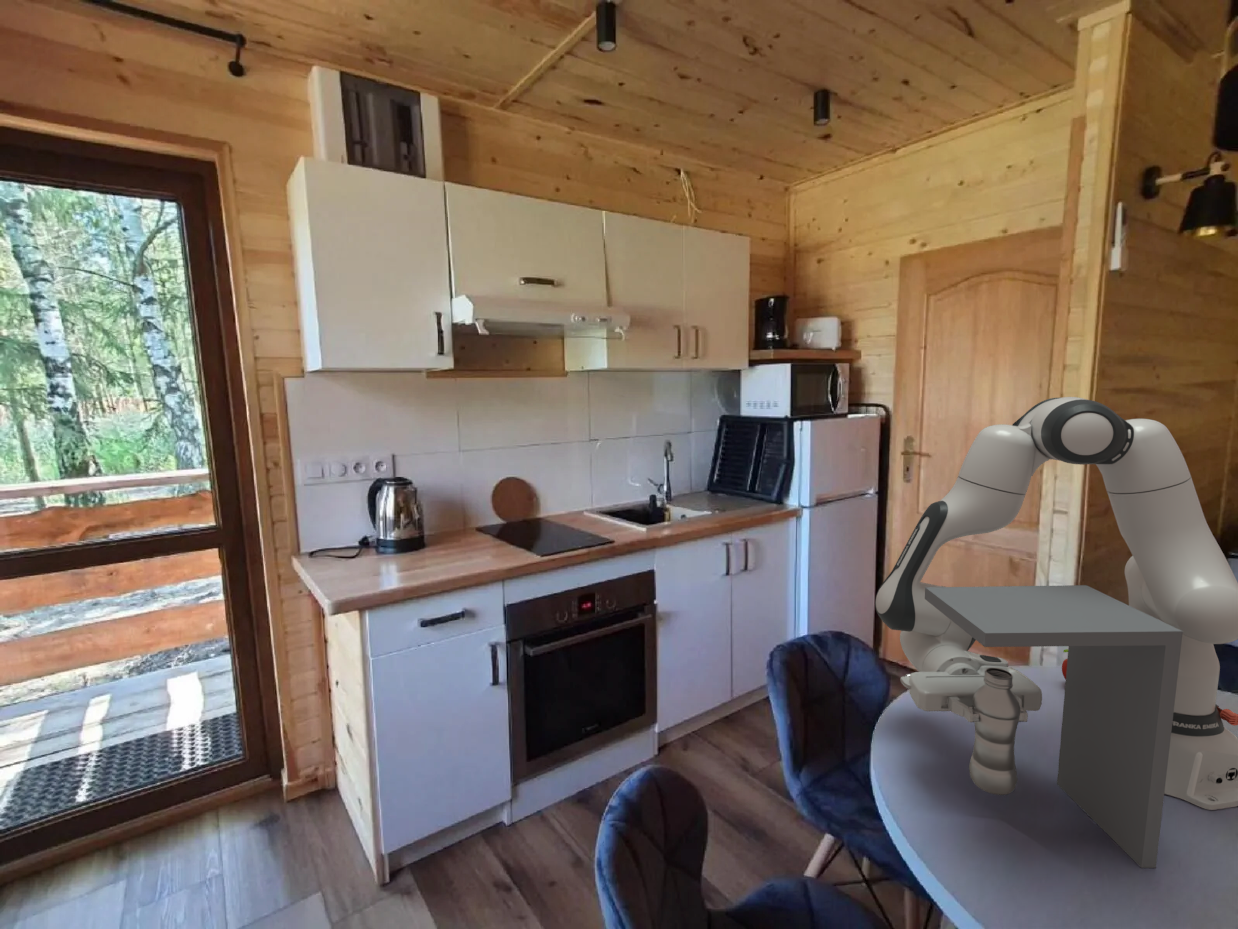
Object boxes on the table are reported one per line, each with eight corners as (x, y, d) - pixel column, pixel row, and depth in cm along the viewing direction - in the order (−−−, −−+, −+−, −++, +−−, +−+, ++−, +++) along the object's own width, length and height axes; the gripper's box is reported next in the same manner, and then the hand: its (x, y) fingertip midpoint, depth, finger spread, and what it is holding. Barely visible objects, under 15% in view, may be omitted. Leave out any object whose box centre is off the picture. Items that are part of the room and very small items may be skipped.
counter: (1068, 784, 104) (1086, 585, 99) (1155, 868, 87) (1182, 631, 81) (915, 783, 106) (925, 587, 100) (970, 866, 88) (985, 633, 83)
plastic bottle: (1021, 805, 94) (1030, 686, 91) (972, 796, 96) (979, 680, 93) (1010, 779, 100) (1017, 666, 97) (964, 771, 102) (970, 661, 100)
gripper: (896, 659, 109) (932, 700, 96) (1012, 658, 108) (1065, 699, 95) (895, 691, 110) (931, 736, 97) (1010, 690, 109) (1062, 736, 96)
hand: (998, 718), depth 96 cm, fingers closed on plastic bottle, 6 cm apart
